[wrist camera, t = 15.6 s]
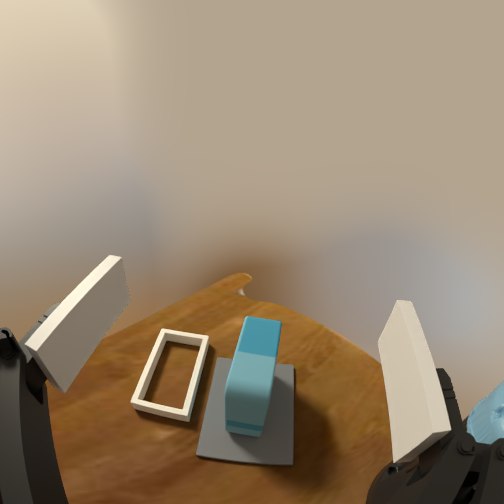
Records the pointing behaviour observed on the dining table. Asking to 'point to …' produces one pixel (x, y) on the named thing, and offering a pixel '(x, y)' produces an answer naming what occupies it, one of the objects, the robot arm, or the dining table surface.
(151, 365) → the cradle
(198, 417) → the dining table surface
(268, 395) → the blue rounded block
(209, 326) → the dining table surface
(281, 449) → the mat
